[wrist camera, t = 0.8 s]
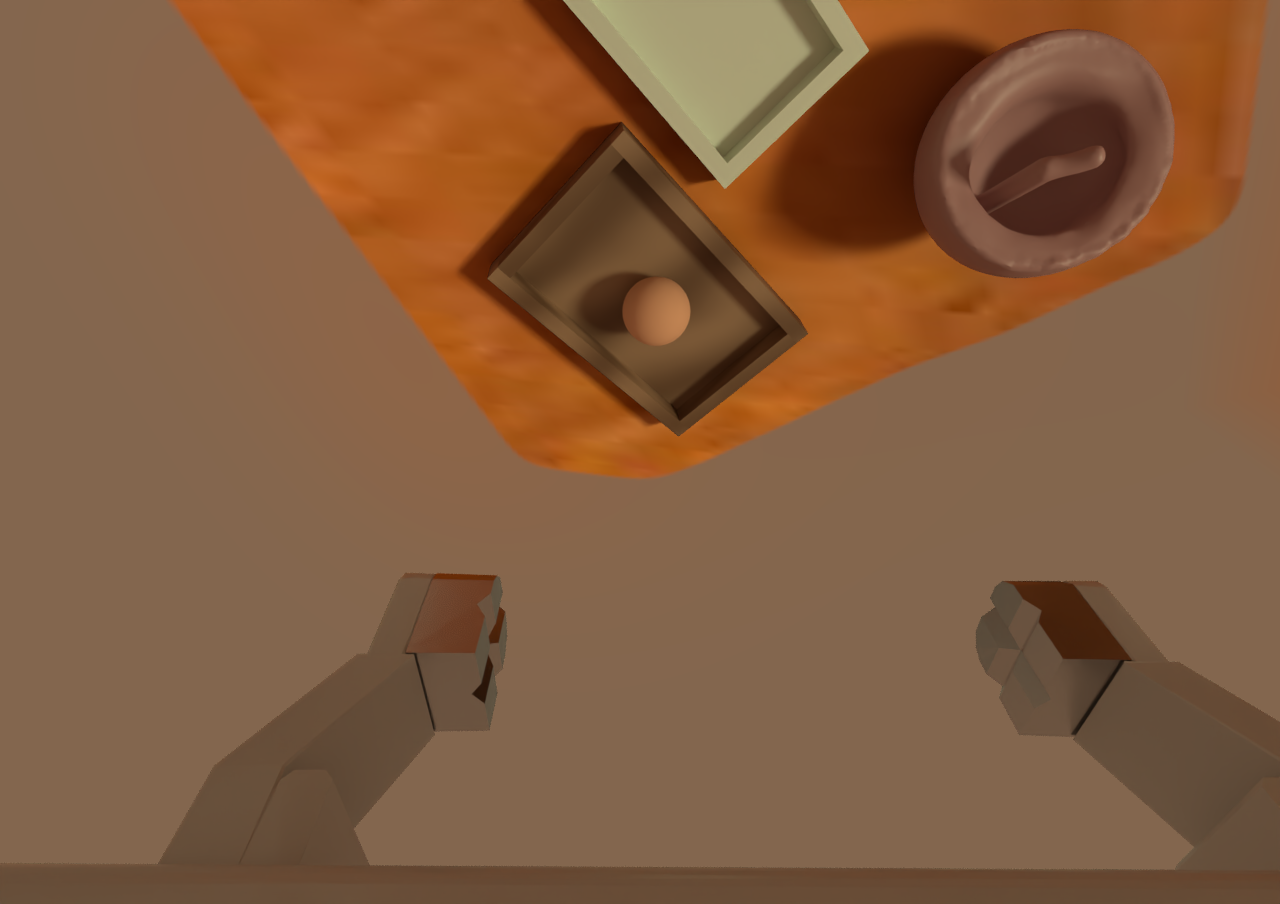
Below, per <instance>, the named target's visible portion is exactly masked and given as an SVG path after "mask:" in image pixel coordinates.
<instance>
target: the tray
mask: <svg viewBox="0 0 1280 904" xmlns="http://www.w3.org/2000/svg"><path fill="white" fill-rule="evenodd" d="M563 1H564V2H565V3H566V4H567V6H568V7H569V8H570V9H571V10H572V11H573V13H574V14H575V15H576V16H577V17H578V18H579V20H580V21H581V22H582V23H583V24H584V25H585V26H586V28H587V29H588V30H589V31H590V32H591V33H592V35H593V36H594V37H595V38H596V39H597V40H598V42H599V43H600V44H601V45H602V46H603V47H604V49H605V50H606V51H607V52H608V53H609V54H610V56H611V57H612V58H613V59H614V60H615V61H616V63H617V64H618V65H619V66H620V67H621V68H622V70H623V71H624V72H625V73H626V74H627V75H628V77H629V78H630V79H631V80H632V81H633V82H634V84H635V85H636V86H637V87H638V88H639V89H640V91H641V92H642V93H643V94H644V95H645V96H646V98H647V99H648V100H649V101H650V102H651V103H652V105H653V106H654V107H655V108H656V109H657V110H658V112H659V113H660V114H661V115H662V116H663V117H664V119H665V120H666V121H667V122H668V123H669V124H670V126H671V127H672V128H673V129H674V130H675V131H676V133H677V134H678V135H679V136H680V137H681V138H682V140H683V141H684V142H685V143H686V144H687V145H688V147H689V148H690V149H691V150H692V151H693V152H694V154H695V155H696V156H697V157H698V158H699V159H700V161H701V162H702V163H703V164H704V165H705V166H706V167H707V169H708V170H709V171H710V172H711V173H712V174H713V176H714V177H715V178H716V179H717V180H718V181H719V183H720V184H721V185H722V186H723V187H724V188H726V187H727V186H728V185H730V184H731V183H732V182H733V181H734V180H735V179H736V178H737V177H738V176H739V175H740V174H741V173H742V172H743V171H744V170H745V169H746V168H747V167H748V166H749V165H750V164H751V163H753V162H754V161H755V160H756V159H757V158H758V157H759V156H760V155H761V154H762V153H763V152H764V151H765V150H766V149H767V148H768V147H769V146H770V145H771V144H772V143H773V142H775V141H776V140H777V139H778V138H779V137H780V136H781V135H782V134H783V133H784V132H785V131H786V130H787V129H788V128H789V127H790V126H791V125H792V124H793V123H794V122H795V121H796V120H798V119H799V118H800V117H801V116H802V115H803V114H804V113H805V112H806V111H807V110H808V109H809V108H810V107H811V106H812V105H813V104H814V103H815V102H816V101H817V100H818V99H820V98H821V97H822V96H823V95H824V94H825V93H826V92H827V91H828V90H829V89H830V88H831V87H832V86H833V85H834V84H835V83H836V82H837V81H838V80H839V79H840V78H841V77H843V76H844V75H845V74H846V73H847V72H848V71H849V70H850V69H851V68H852V67H853V66H854V65H855V64H856V63H857V62H858V61H859V60H860V59H861V58H862V57H863V56H864V55H866V54H867V53H868V52H869V50H868V48H867V46H866V45H865V43H864V42H863V40H862V38H861V37H860V35H859V34H858V32H857V30H856V29H855V27H854V26H853V24H852V22H851V21H850V19H849V18H848V16H847V14H846V13H845V11H844V10H843V8H842V6H841V5H840V3H839V1H838V0H563Z"/></svg>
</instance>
